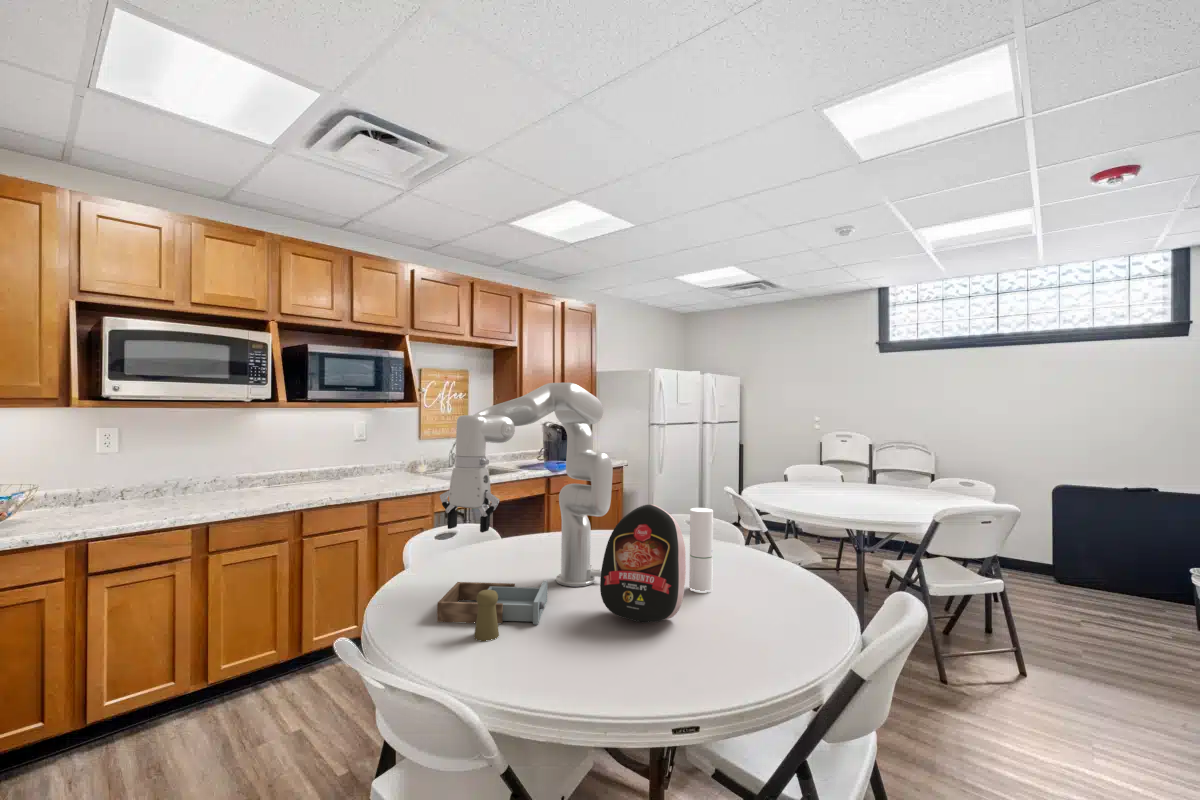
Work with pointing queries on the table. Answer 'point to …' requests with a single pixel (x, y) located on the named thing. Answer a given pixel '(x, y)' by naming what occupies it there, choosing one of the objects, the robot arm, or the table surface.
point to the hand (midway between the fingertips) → (468, 529)
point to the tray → (522, 602)
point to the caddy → (465, 611)
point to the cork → (486, 616)
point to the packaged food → (644, 566)
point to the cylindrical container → (701, 549)
